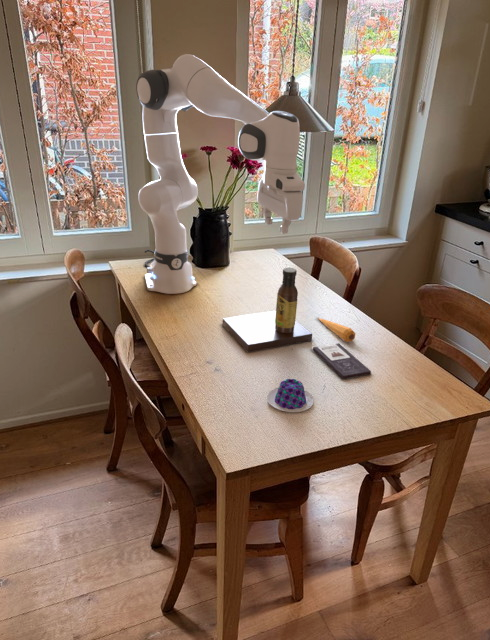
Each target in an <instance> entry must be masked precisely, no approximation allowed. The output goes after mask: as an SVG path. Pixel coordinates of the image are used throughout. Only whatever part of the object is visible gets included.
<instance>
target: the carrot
mask: <svg viewBox="0 0 490 640" xmlns="http://www.w3.org/2000/svg"><path fill="white" fill-rule="evenodd" d="M317 319H318V320H319V321H320V322H321V323H322V324H323V325H324V326H325V327H327V328H328V329H329V330H330V331H332V332H333V333H335V335H336V336H338V337H339V338H340V339H342V340H343V341H344V342H345V343H346V342H347V343H351V342H353V341H354V340H355V339H356V332H355V331H354V329H352V328H351V327H349V326H345V325H342V324H339V323H338V322H337V323H336V322H334V321H330V320H327V319H323V318H320V317H317Z"/></svg>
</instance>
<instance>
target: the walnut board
mask: <svg viewBox="0 0 490 640" xmlns="http://www.w3.org/2000/svg"><path fill="white" fill-rule="evenodd" d="M275 317H276V309H275V310H269V311H262V312H255V313H248V314H242V315H235V316H228V317H222V327H223V328H224V329H226V331H227V332H228V333H229V334H230V335H231V336H232V337H233V338H234V339H235V340H236V341H237V342H238V344H240V346H241V347H243V349H244V350H245V351H246V352H247V353H252V352H257V351H262V350H267V349H268V350H269V349H274V348H280V347H286V346H290V345H291V346H292V345H296V344H303V343H307V342H311V341H312V339H313V333H312V332H311V331H310V330H308V329H307V328H306V327H305V326H303V325H302V324H301V323H300V322H299V321H298V320H297V319H295V326H294V331H293V332H291V333H281V332H279V331H277V330H276V329H275V325H276V324H275Z"/></svg>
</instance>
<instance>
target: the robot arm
mask: <svg viewBox="0 0 490 640" xmlns="http://www.w3.org/2000/svg"><path fill="white" fill-rule="evenodd" d="M135 91H136V95H137V98H138V100H139V102H140V104H141V106H142V130H143V135H144V136H143V137H144V144H145V150H146V156H147V160H148V162H149V163H150V164H151V165H153V166H154V167H155V169H156V171H157V173H158V175H159V179H157V180H153V181H150V182H148V183H147V184H145V185H144V186H142V187H141V188H140V189H139V192H138V195H137V196H138V197H137V198H138V199H137V200H138V204H139V206H140V208H141V209H142V211H143V212H144V213H145V214H147V215H148V217H149V218H150V221H151V224H152V227H153V231H154V244H155V245H154V246H155V249H154V251H153V250H151V249H146V250H144V253H146V254H147V252H150V253H152V254H153V258H150V259H148V260H147V261H145V262H144V265H145V267H146V274H144V280H145V285H146V289H147V291H150V292H158V293H161V294H166V295H167V294H169V295H173V294H174V295H176V294H182V293H187V292H189V291H190V290H192V289H193V288H194V287H196V286H197V281H196V280H195V277H194V276H193V265H192V263H191V262H190V261H188V260H189V250H188V247H187V228H186V227H185V226H184V225H183V223H181V222H180V220H179V216H178V211H180V210H182V209H186V208H188V207H189V206H191V205H192V204H193V203H195V202H196V201H197V199H198V197H199V187H198V185H197V182H196V181H195V180H194V179H193V178H192V177H191V176H190V175H189V172H188V171H187V169H186V166H185V164H184V160H183V157H182V152H181V145H180V137H179V130H178V123H177V114H178V112H179V111H183V112H187V111H188V110H190V109H191V108H193V107H194V108H195V109H196V110H198V111H199V112H201V113H203V114H204V115H206V116H209V117H216V118H225V119H233V120H237V121H240V122H242V123H243V124H244V125H243V126H242V127H241V129H240V130H239V132H238V137H237V145H238V149H239V152H240V154H241V155H242V156H243V157H244V159H246V160H250V161H264V168H263V169H264V170H263V174H262V175H261V179H260V180H259V182H258V187H257V196H256V202H257V205H259V206H261V207H263V214H264V223H265V224H266V225H268V226H269V225H272V224H273V221H274V218H273V217H272V213H274V214H275V215H277V216H279V217H280V218H281V219H282V224H281V225H280V226H279V232H280V233H281V234H283V235H285V234H288V233H289V227H290V225H291V223H292V222H293V221H298V220H299V219H300V218H301V216H302V209H303V201H304V199H303V198H304V197H303V191H305V187H306V183H305V182H304V181H303V178H301V177H300V174H299V173H298V172H297V171H298V163H297V157H298V154H299V151H300V138H301V135H300V134H301V131H300V130H301V129H300V121H299V118H298V117H297V116H296V115H294V114H293V113H291V112H287V111H283V110H273V111H271V112H268V111H267V110H266V109H265V108H263V107H262V106H261V105H260V104H258V103H257V102H256V101H255V100H253V99H252V98H250V97H249V96H247V95H246V94H245V93H243V92H242V91H241V90H239V89H238V88H236V87H235V86H234V85H232V84H231V83H230V82H228V80H226V79H225V78H224V77H222V76H221V75H220V74H219V73H218V72H217V71H215V69H213V67H211V66H210V65H209V64H208V63H206V62H205V61H204V60H202V59H200V58H199V57H197V56H196V55H194V54H192V53H191V54H190V53H184V54H181V55H179V57H177V59H175V61H174V62H173V64H172V67H168V68H163V69H149V70H146V71H143V72H141V73H140V74H139V76H138V77H137V80H136V84H135ZM148 263H150V264H149V265H148Z"/></svg>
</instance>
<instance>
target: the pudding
mask: <svg viewBox="0 0 490 640" xmlns="http://www.w3.org/2000/svg"><path fill="white" fill-rule="evenodd" d="M266 398H267V399H266V400H267V402H268V404H269V405H270V406H271V407H272V408H275V409H276V410H279V411H283V412H287V413H300V412H301V413H302V412H304V411H307V410H309V409H310V408H312V407H313V405H314V403H315V399H314V396H313V395H312V394H311V393H310V392H309V391H307V390H305V387H304V384H303V383H302V381H300V380H297V379H295V378H286V379H285V380H284V379H283V380H281V381H280V383H279V385H278V387H275V388H273V389H272V390H270V391H269V392H268V393H267V396H266Z"/></svg>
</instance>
